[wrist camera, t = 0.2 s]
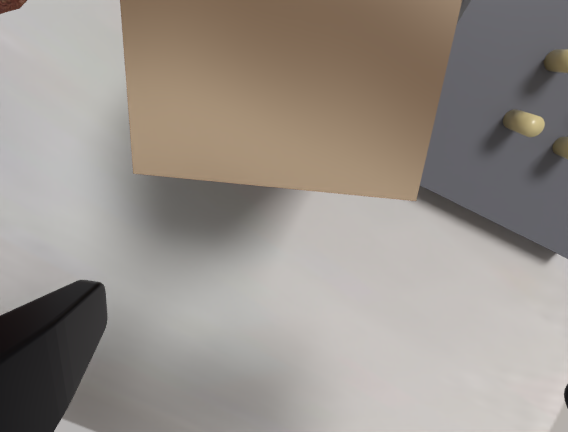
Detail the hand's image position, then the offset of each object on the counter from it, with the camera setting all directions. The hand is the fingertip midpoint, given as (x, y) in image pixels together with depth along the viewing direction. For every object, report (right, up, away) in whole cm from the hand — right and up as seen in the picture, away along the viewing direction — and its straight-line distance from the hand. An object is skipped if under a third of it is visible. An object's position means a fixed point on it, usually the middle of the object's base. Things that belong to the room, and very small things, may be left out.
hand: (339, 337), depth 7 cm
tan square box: (0, +11, +11) cm, 15 cm away
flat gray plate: (+11, +8, +12) cm, 18 cm away
